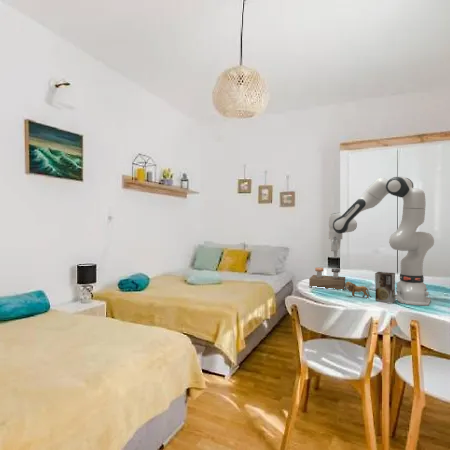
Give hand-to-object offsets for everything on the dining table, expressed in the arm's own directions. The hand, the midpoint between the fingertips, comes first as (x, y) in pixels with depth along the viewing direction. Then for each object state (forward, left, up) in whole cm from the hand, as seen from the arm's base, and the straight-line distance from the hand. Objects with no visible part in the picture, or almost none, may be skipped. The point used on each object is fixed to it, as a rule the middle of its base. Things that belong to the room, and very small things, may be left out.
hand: (335, 256), depth 217 cm
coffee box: (-28, -30, -21) cm, 46 cm away
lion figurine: (-24, -15, -21) cm, 35 cm away
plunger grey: (0, 0, -16) cm, 17 cm away
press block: (0, +5, -21) cm, 22 cm away
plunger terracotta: (0, +11, -17) cm, 20 cm away
